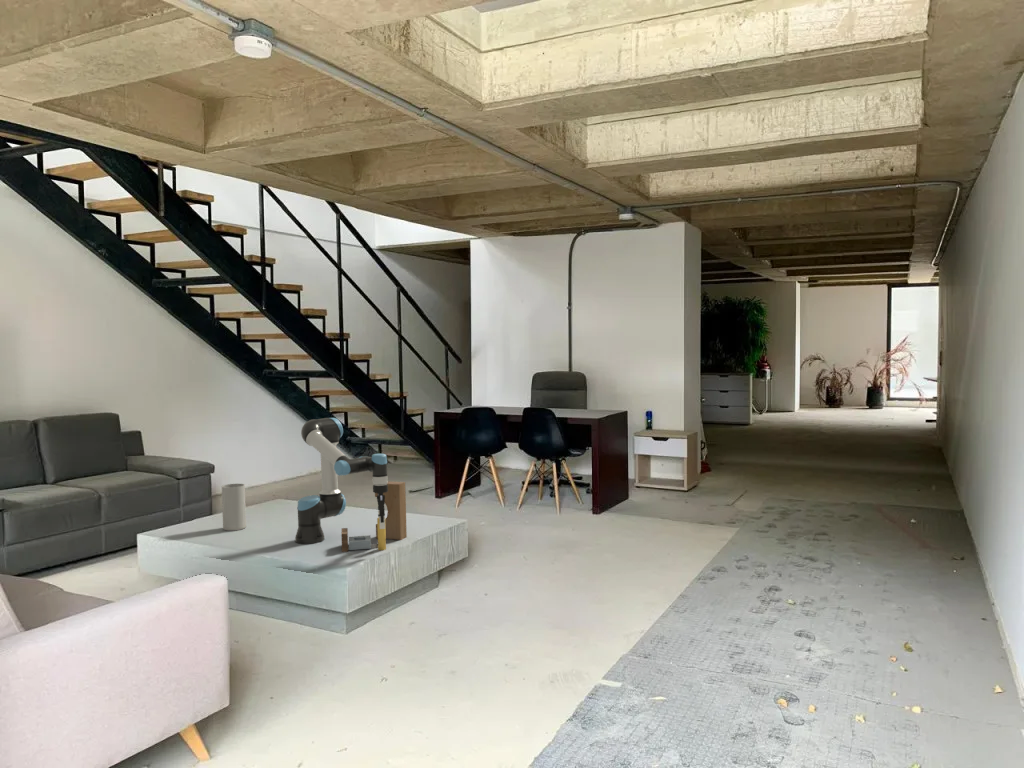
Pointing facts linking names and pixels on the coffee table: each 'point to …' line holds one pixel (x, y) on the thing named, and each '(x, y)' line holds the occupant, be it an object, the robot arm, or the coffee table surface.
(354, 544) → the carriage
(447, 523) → the coffee table surface
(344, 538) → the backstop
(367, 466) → the robot arm
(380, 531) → the dowel
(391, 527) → the decorative block
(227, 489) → the cylinder vase
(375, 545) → the dark grey flat board
